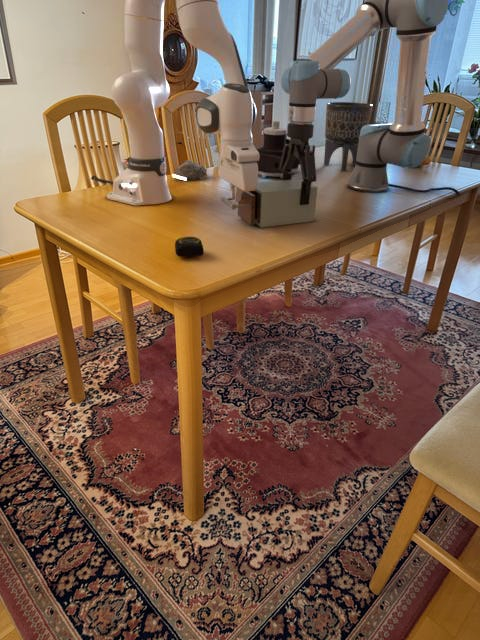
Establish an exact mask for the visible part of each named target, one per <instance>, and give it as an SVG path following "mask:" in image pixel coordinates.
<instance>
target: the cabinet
mask: <svg viewBox="0 0 480 640" xmlns="http://www.w3.org/2000/svg"><path fill="white" fill-rule="evenodd" d="M302 181H303V179H300V178H295V179H291V180H281V179H280V180H271V181H270V180H269V181H258V182H257V187H256V190H255V191H256V192H257V193H259V194H261V206H260V222H256V221H255V223H254V225H256V226H258V227H259V228H267V227H268V228H270V227H277V226H284V225H285V226H286V225H291V224H301V223H308V222H314V221H315V214H316V206H317V205H316V204H317V196H318V195H317V194H318V186H316V185H314V184H312V183H311V190H310V198H309V204H307V205H300V196H301V184H302Z"/></svg>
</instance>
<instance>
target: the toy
mask: <svg viewBox="0 0 480 640" xmlns="http://www.w3.org/2000/svg"><path fill="white" fill-rule="evenodd" d="M431 163H432V160H431V158H429V157H426V158H425V159H424V161H423V162H422V163H421V164H420V165H418V166H417V167H418V168H419V167H424V166H427V165H429V164H431Z"/></svg>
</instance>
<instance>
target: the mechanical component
mask: <svg viewBox="0 0 480 640" xmlns="http://www.w3.org/2000/svg"><path fill="white" fill-rule="evenodd" d="M285 139H288V136H287V128H286V127H280V121H279V120H272V126H271V127H265V128H264V129H263V145H262V146H258V147H257V148H256V150H257V151H258V152H259V155H260V158H259V161H256V162H257V164H258V175H261V177H262V178H267V177H279V178H280V179H283V173H282V170H279V166H280V162H281V157H282V153H283V149H284V140H285ZM283 166H284V165H283ZM299 167H300V162H299V161H298V160H297V157H296V160H295V162H294V164H293V167H292V169H291V171H292V173H298V171H299Z"/></svg>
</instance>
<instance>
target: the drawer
mask: <svg viewBox="0 0 480 640" xmlns="http://www.w3.org/2000/svg"><path fill="white" fill-rule="evenodd" d="M232 201H235V200H234V199H232V197H225V196H221V197H220V202H221V203H222V204H224V205H226V206H227V207H228V208H230V209H231V210H233V211H234V210H236V209H237V217H239V218H240V219H242V220H243V221H245V222H246V223H247V224H249V225H250V226H254V225H255V221H256V222H260V206H261V194H259V193H257V192H256V191H247V192H245V191H243V192H242V194H241V201H237V204H235V203H234V202H232Z"/></svg>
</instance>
